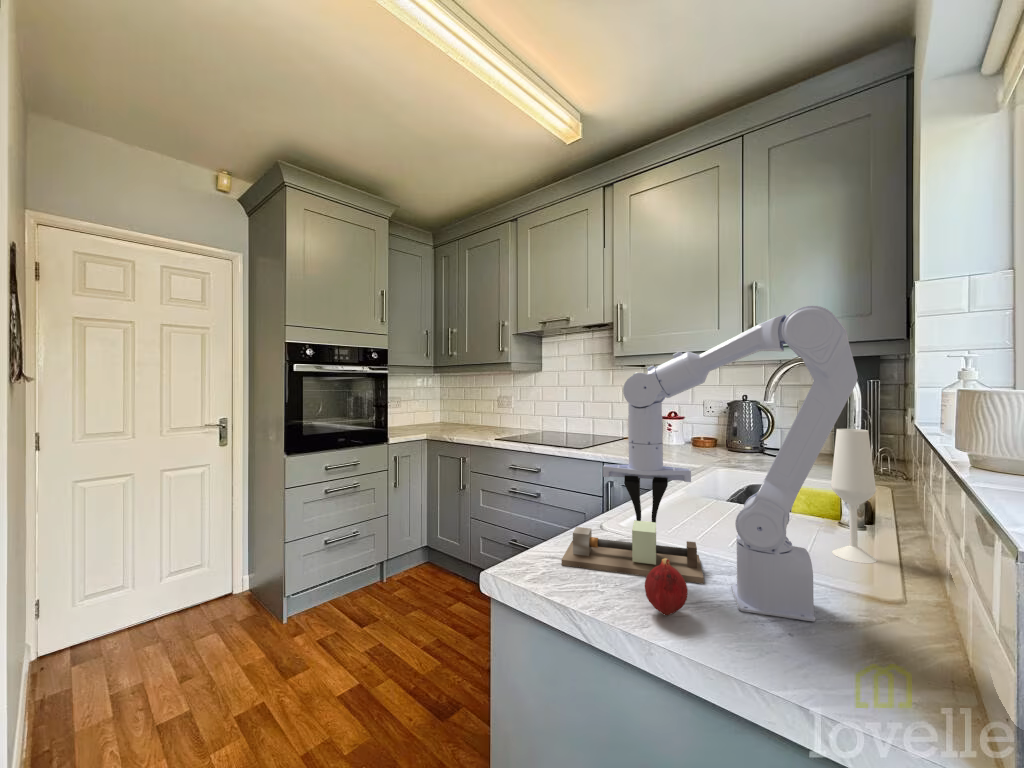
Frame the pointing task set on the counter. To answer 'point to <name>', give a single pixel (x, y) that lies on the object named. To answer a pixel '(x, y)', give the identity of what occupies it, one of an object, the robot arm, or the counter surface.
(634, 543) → the sleeve
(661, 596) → the onion
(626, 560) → the cord board
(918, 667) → the counter surface
